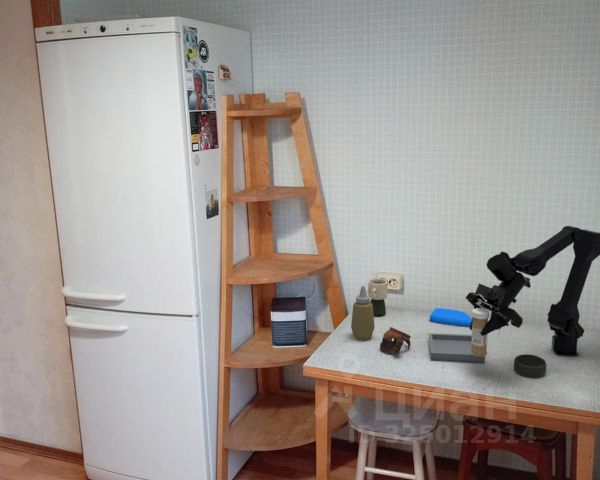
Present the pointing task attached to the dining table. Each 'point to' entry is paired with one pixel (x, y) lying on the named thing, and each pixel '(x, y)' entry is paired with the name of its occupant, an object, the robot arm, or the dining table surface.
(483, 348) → the sprinkles bottle
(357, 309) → the squeeze bottle
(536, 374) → the smart speaker
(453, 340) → the tray
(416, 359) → the dining table surface
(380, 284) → the character mug
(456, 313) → the spray bottle
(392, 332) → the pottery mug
